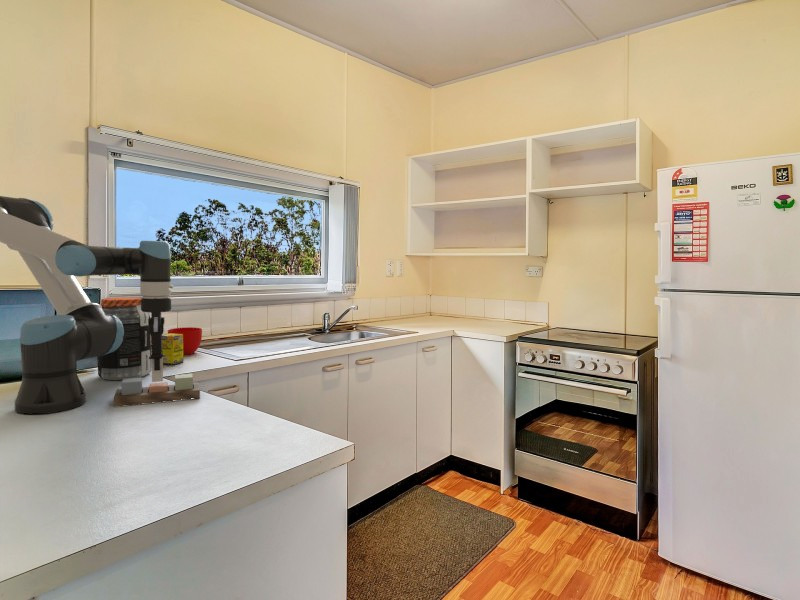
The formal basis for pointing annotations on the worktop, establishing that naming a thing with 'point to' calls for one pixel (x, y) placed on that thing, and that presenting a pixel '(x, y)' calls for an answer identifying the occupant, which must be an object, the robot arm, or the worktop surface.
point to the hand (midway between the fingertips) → (157, 380)
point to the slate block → (131, 386)
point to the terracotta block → (158, 387)
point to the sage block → (183, 382)
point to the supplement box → (172, 349)
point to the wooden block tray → (156, 395)
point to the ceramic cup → (189, 338)
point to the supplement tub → (127, 341)
